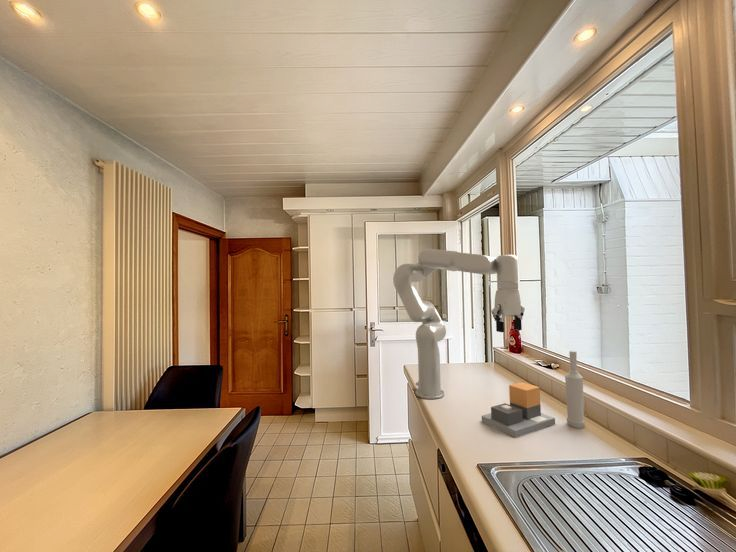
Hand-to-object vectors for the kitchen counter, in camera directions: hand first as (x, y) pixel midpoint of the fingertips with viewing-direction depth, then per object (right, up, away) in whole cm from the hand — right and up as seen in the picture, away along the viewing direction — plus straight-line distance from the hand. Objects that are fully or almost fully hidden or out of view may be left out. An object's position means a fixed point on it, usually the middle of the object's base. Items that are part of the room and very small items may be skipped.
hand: (509, 330), depth 126 cm
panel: (-2, -30, -13) cm, 33 cm away
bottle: (+16, -30, -15) cm, 37 cm away
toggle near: (-7, -28, -15) cm, 32 cm away
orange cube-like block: (+1, -24, -10) cm, 26 cm away
